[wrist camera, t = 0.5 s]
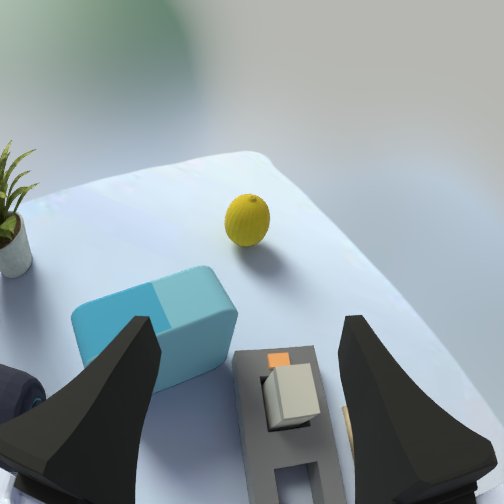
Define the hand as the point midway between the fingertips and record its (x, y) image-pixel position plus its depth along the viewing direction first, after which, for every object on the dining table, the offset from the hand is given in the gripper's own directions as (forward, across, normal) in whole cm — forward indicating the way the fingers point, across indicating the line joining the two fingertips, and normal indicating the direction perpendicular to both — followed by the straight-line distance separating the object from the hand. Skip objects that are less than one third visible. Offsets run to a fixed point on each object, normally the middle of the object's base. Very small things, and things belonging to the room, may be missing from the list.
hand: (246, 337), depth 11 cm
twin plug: (+8, -2, +20) cm, 21 cm away
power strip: (+4, -2, +21) cm, 22 cm away
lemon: (+29, +3, +13) cm, 31 cm away
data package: (+11, +10, +17) cm, 22 cm away
